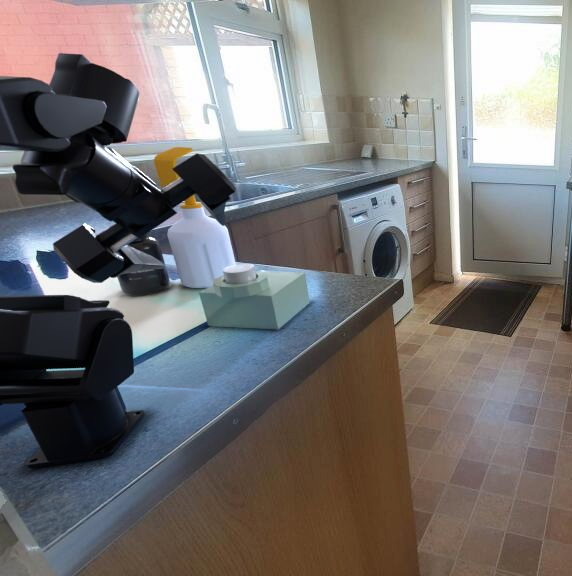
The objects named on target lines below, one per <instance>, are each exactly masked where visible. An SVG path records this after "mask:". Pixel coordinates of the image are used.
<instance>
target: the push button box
mask: <svg viewBox="0 0 572 576" xmlns="http://www.w3.org/2000/svg"><path fill="white" fill-rule="evenodd" d="M255 273H256V277H257V279H255V280H253V281H249V282H246V283H240V284H227V283H226V282H225V278H224V275H222V276H220V277H218V278H216V279H215V280H214V282H213V285H212V286H210V287H208V288H204V289H202V290H201V291H199V292H198V294H199V298H200V302H201V305H202V308H203V312H204V315H205V319H206V323H207V326H208V327H219V328H241V329H260V330H261V329H263V330H280V329H281V328H282V327H283V326H284V325H286V324H287V323H288V322H289V321H290V320H291V319H293V318H294V317H295V316H296V315H297V314H298V313H300V312H301V311H302V310H303V309H304V308H305V307H307V306H308V305H309V304H310V303H311V301H310V295H309V289H308V282H307V277H306V272H299V271H298V272H296V271H278V270H256V269H255Z"/></svg>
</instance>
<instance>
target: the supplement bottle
mask: <svg viewBox="0 0 572 576" xmlns="http://www.w3.org/2000/svg"><path fill="white" fill-rule="evenodd" d="M113 225H114V224H112V225H110V226H109V228H110V227H111V226H113ZM149 235H150V232H148V233H147V234H145V235H144V236H142V237H141V238H136V239H135V240H133V241H132V242H130V243H129V244H127V245H128V246H130V247H132V248H135V249H137V250H139V251H141V252H144V253H146V254H148V255H150V256H153V257H154V258H156V259H157V260H159V261H161V262H162V263H163V264H164V265H165V268H163V269H153V270H143V271H137V272H131V273H126V274H121V275H119V276H118V277H116V278H117V282H118V284H119V286H120V289H121V292H122V293H123V294H124V295H127V296H133V297H134V296H146V295H153V294H157V293H160V292H163V291H165V290H167V289H168V288H169V287H170V286H171V279H170V276H169V272H168V269H167V266H166V262H165V259H164V255H163V252H162V248H161V245H160V242H159V241H158V240H157V239H155V237H151V236H149Z"/></svg>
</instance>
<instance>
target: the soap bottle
mask: <svg viewBox="0 0 572 576" xmlns="http://www.w3.org/2000/svg"><path fill="white" fill-rule="evenodd" d="M192 152H194V149H193V148H192V147H185V146H176V147H171V148H170V149H167V150H165V151H162V152H160V153H158V154H156V155H155V156H154V159H153V163H154V167H155V171H156V174H157V177H158V181H159V184H160V187H161V189H163V188H164V187H166V186H168V185H169V184H171V183H172V182H174V181H175V180H177V179H179V178H180V177H179V176H178V175H177V174H176V173H175V172H174V171H173V170H172V168H174V167H176V166H177V165H176V163H177V160H178V159H180V158H181V157H183V156H186V155H188V154H190V153H192ZM179 207H180V208H179V209H180V212H181V216H182V217H181V218H180V219H178V220H177V221H176V222H174V223H173V224H172V225H171V226H170V227H169V228H168V229H167V233H166V235H167V240H168V243H169V246H170V249H171V253H172V256H173V260H174V263H175V266H176V270H177V273H178V277H179V280H180V283H181V284H182V285H183V286H184V287H187V288H190V289H191V288H192V289H207V288H208V287H210V286H212V285H213V282H214V280H215V279H216V278H218V277H220V276H222V275H224V274H223V269H224V268H226V267H228V266H232V265H237V262H236V258H235V254H234V251H233V246H232V242H231V238H230V234H229V233H230V232H229V230H228V228H227V226H226V224H225V225H224V226H222V225H221V224H220V223H219V222H218V221H217V220H216V219H215V218H214V217H211V216H208V215H206V213H205V207H204V206H203V204H202V203H201V202H197V200H196V196H195V195H192V196H191V197H189V198H188V199H186V200H185V201H184V203H180V204H179Z"/></svg>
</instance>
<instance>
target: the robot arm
mask: <svg viewBox="0 0 572 576" xmlns="http://www.w3.org/2000/svg"><path fill="white" fill-rule="evenodd" d="M139 100H140V90H139V89H138V87H137V86H136V84H135V83H134V82H132V81H131V79H129V78H127V77H124V76H123V75H120V73H117V72H115V71H114V70H112V69H110V68H107V67H104V66H103V65H99V64H96V63H93V62H91V61H90V60H89V59H88V58H87V57H86V56H85V55H84V54H82V53H66V52H65V53H63V52H58V54H57V57H56V59H55V63H54V71H53V74H52V76H51V79H50V82H49V83H48V82H45V81H43V80H41V79H37V78H34V77H30V76H9V75H0V151H8V152H9V151H10V152H12V151H14V152H23V154H22V156H21V158H20V163H15V164H13V165H12V169H13V171H14V173H15V178H14V185H15V188H16V191H17V193H18V194H20V195H22V196H66V197H67V198H68V199H70V200H72V201H73V202H75V203H77V204H80V203H81V204H83V205H85V206H86V207H88V208H89V209H90V210H93V211H94V212H96V213H97V214H99V215H100V216H101V217H102V218H103V219H105V220H107V221H108V222H110V223H111V222H113V223H115V224H112V225H113V226H112V225H110V226H111V227H110V226H109V227H110V228H107V229H105V230H102V231H101V232H100V233H98V234H96V229H95V228H94V227H93V226H91V225H90V224H88V223H83V224H81V225H79V226H78V227H77V228H75V229H73V230H72V231H70V232H69V233H66V234H65V235H64V236H62V237H61V238H59V239H57V240H55V241H54V242H53V243H52V248H53V251H54V253H56V255H58V257H59V258H60V259H61V260H62V261H63V262H64V263H65V264H66V265H67V267H68V268H69V269H70V270H71V272H73V273H74V274H75V275H77V276H78V277H79V278H81V279H83V280H85V281H88V282H90V283H94V284H102V283H104V282H105V281H107V280H108V279H109V278H111V279H116V278H117V277H118V276H119V275H121V274H126V273H131V272H137V271H143V270H153V269H163V268H165V265H166V264H165V265H164V264H163V263H162V262H161V261H159V260H157V259H156V258H154V257H153V256H150V255H148V254H146V253H144V252H141V251H139V250H137V249H135V248H132V247H130V246H128V245H127V244H129V243H130V242H132V241H133V240H135V239H136V238H141V237H142V236H144V235H145V234H147V233H148V232H149V233H150V232H151V231H153V230H154V229H156V228H158V227H159V226H161V225H162V224H163V223H165V222H167V221H168V220H169V219H170V218H172V217H174V216H175V215H177V214H178V211H177V210H176V209H174V208H175V207H177V206H180V204H183V202H185V200H186V199H188V198H189V197H191V196H192V195H195V198H197V200H198V201H199V203H202V205H203V208H204V209H206V211H207V212H208V213H209V214H210V216H211V217H212V218H213V219H216V220H217V221H218V222H219V223H220V224H221V225H222V226H224V225H225V226H226V217H225V210H226V204H227V202H230V200H231V196H232V195H234V193H236V190H237V186H236V185H235V184H234V183H233V182H232V181H231V180H230V178H229V177H228V176H227V175H226V174H225V173H224V172H223V171H222V170H221V169H220V168H219V167H218V166H217V165H215V163H214V162H213V161H211V159H209V158H208V157H207V156H206V155H205V154H202V153H195V154H193V155H191V156H190V157H188V158H187V159H185V160H184V161H182V162H180V163H178V164H177V165H176V167H174V168H172V170H173V171H174V172H175V173H176V174H177V175H178V177H179V179H177V180H175V181H174V182H172V183H171V184H169V185H168V186H166V187H164V188H161V189H159V188H157V183H156V182H154V180H152V179H151V177H149V176H148V175H147V174H145V173H144V172H143V171H141V170H140V168H137V167H136V166H135V165H132V164H131V163H129V161H127V160H126V159H125V158H124V157H123V156H121V155H120V154H119V153H118V152H117V151H116V150H114V149H113V148H112V147H110V145H111V144H122V143H126V142H127V140H128V138H129V135H130V131H131V128H132V123H133V121H134V118H135V112H136V109H137V106H138V103H139ZM110 304H111V303H110V300H109V299H107V300H106V299H105V300H100V299H99V300H89V299H85V298H82V297H80V296H75V295H71V294H33V295H32V294H31V295H30V294H29V295H27V294H25V295H0V406H2V405H17V404H18V405H19V404H20V405H21V404H23V405H24V408H23V409H22V410H21V411H20V413H21V415H22V416H23V418H24V420H25V422H26V424H27V425H28V427H29V429H30V431H31V433H32V436H33V437H34V439H35V441H36V442H37V443H36V444H38V446H39V450H37V451H36V452H35V453H34V454H33V455H32V456H31V457H30V458H29V459H28V460H27V461H26V462H25V465H26V466H27V468H28V469H34V468H35V469H36V468H41V467H49V466H56V465H63V464H71V463H76V462H83V461H90V460H91V461H92V460H98V459H105V458H108V457H110V456H112V455H114V453H115V452H116V451H117V450H118V449H119V448H120V446H122V444H123V443H124V441H125V440H126V439H127V438H128V436H129V435H130V434H131V433H132V432H133V431H134V429H135V428H136V427H137V425H138V424H139V423H141V421H142V420H143V419H144V417H145V415H146V413H145V410H144V409H139V410H129V411H127V407H126V404H125V401H124V399H123V397H122V394H121V392H120V389H119V386H120V385H121V384H122V383H124V382H125V381H126V380H127V379H129V378H130V377H131V376H133V375H134V373H135V364H134V363H135V361H134V340H133V339H134V338H133V331H132V327H131V325H130V324H129V323H128V321H127V320H125V319H124V318H125V315H124V313H123V312H121V311H120V310H119V309H116V308H113V307H108V306H109V305H110Z"/></svg>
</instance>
